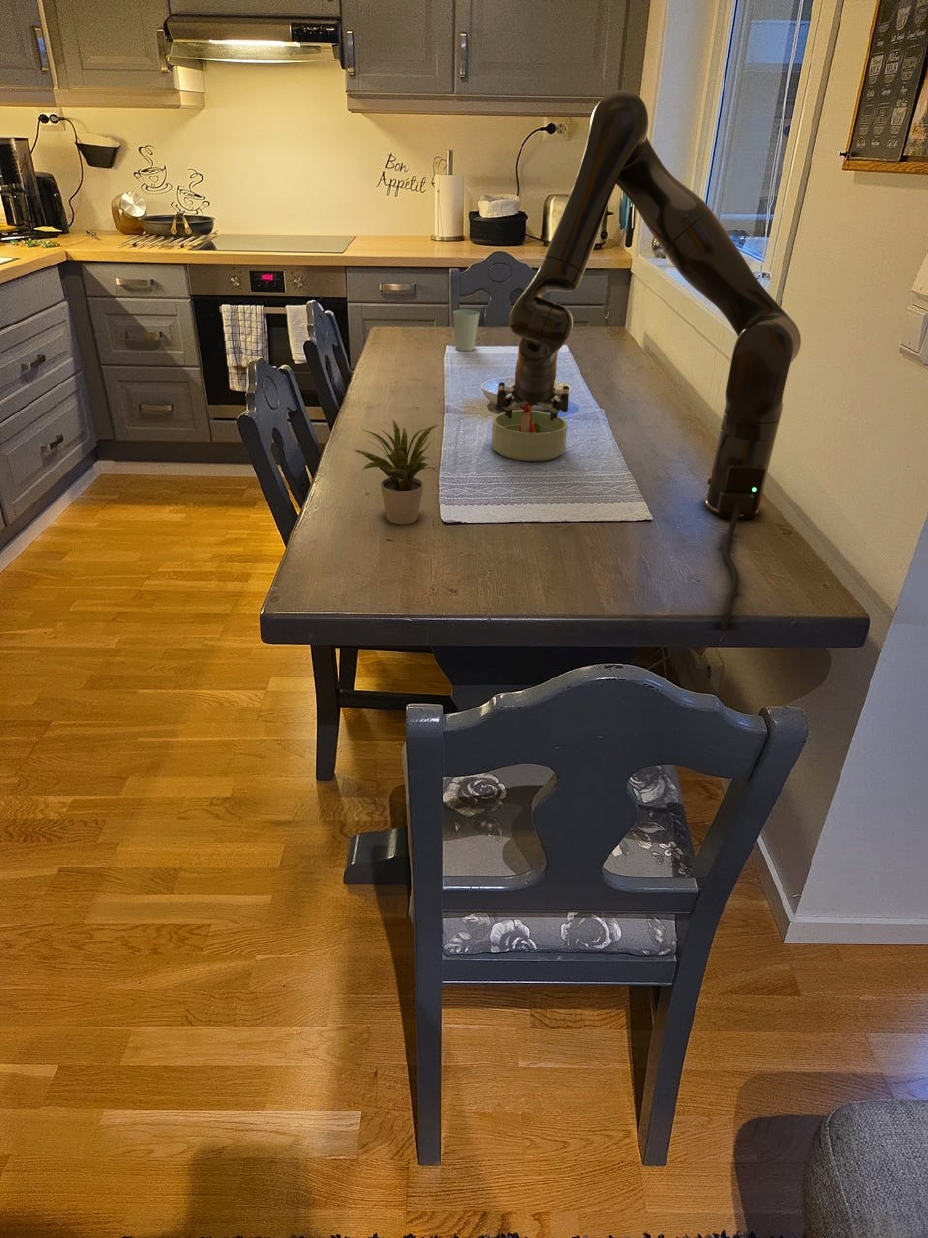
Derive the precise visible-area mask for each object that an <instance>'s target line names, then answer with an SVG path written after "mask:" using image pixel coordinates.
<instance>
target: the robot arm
mask: <svg viewBox="0 0 928 1238" xmlns="http://www.w3.org/2000/svg"><path fill="white" fill-rule="evenodd" d="M647 109H648V108H647V106H646V104H645V101H643V99H642V98H641V97H640V96H639V94H637V93H636V92H633V91H631V90H627V89H619V90H614V91H612V92H609V93H608V94H607V95H604V97H602V99H601V100H600V101H599V102H598V104H597V105H596V106H595V107H594V110H593V112H592V114H591V117H590V119H589V120H590V121H589V127H588V136H587V140H586V145H585V147H584V148H585V149H584V153H583V157H582V159H581V163H580V166H579V170H578V172H577V175H576V178H575V181H574V184H573V185H572V189H571V192H570V194H569V197H568V199H567V202H566V204H565V206H564V209H563V211H562V214H561V215H560V218H559V220H558V223H557V224H556V227H555V229H554V232H553V234H552V237H551V239H550V242H549V244H548V246H547V249H546V253H545V254H544V257H543V260H542V262H541V264H540V266H539V269H538V270H537V272H536V274H535V275H534V277H533V278H532V280H531V282H530V283H529V285H528V286H527V287H526V288H525V290H524V291H523V292H522V294H521V295H520V297H519V298H518V299H517V300H516V302H515V303H514V305H513V307H512V309H511V310H510V313H509V318H508V325H509V329H510V331H511V332H512V334H513V335H515V336H516V337H518V338H520V339H519V343H518V350H517V351H518V353H517V360H516V364H515V371H514V384H513V385H512V386H506V383H505V382H502V381H501V382H499V383H498V387H497V394H496V403H495V404H496V405H495V407H496V409H499V410H500V409H503V408H504V412H505V415H506V416H508V418H511V419H512V411H513V410H514V409H520V407H521V406H523V405H533V406H538V407H542V408H543V409H544V410H546V411H549V413H550V421H553V420H554V419H556V418H557V416H558V415H559V412H560V411H561V412H562V413H567V412H568V410H569V400H570V399H569V398H570V386H569V385H564V386H562V389H556V388H555V382H556V378H557V369H558V368H557V362H558V361H557V360H558V355H559V351H560V349H562V347H563V346H564V345H565V343H566V342H567V340H568V339H569V337H570V336H571V333H572V331H573V327H574V317H573V314H572V312H571V310H569V308H567V307H566V306H564V305H562V304H560V303H556V302H554V301H552V300H548V299H546V298H543V296H545V295H546V294H547V293H549V292H552V291H553V292H554V291H556V292H566V293H571V292H574V291H576V290H577V288H578V287H579V285H580V283H581V281H582V278H583V275H584V273H585V270H586V268H587V266H588V263H589V261H590V258H591V256H592V254H593V250H594V248H595V245H596V242H597V240H598V237H599V234H600V230H601V227H602V224H603V221H604V218H605V215H606V211H607V208H608V206H609V202H610V199H611V196H612V194H613V191H614V189H615V187H616V185H617V187H618V188H619V189H620V190H621V192H623V193H624V194H625V196H626V197H627V198H628V199H629V201H630V202H631V203H632V205H633V206H634V208H635V209H636V211H637V212H638V214H639V215H640V217H641V219H642V220H643V223H644V224H645V226H646V227H647V229H648V230H649V231H650V233H651V234H652V236H653V237H654V239H655V240H656V242H657V244H658V246H659V247H660V248H661V250H662V252H663V253H664V254H665V256H666V257H667V258H668V260H669V261H670V262H671V264H672V265H673V267H674V268H675V269H676V271H678V273H679V274H680V275H681V277H682V278H683V279H684V280H685V281H686V282H687V284H689V285H690V286H691V287H692V288H694V289H695V290H696V291H697V292H699V294H701V295H702V296H704V298H706V299H707V300H708V301H709V302H711V303H712V304H713V305H715V307H716V308H717V309H718V310H719V311H720V312H721V313H722V314H723V316H724V317H725V318H726V320H727V322H728V323H729V324H730V326H731V328H732V329H733V331H734V332H735V334H736V336H737V338H736V340H735V344H734V345H733V350H732V355H731V359H730V365H729V370H728V375H727V376H728V377H727V382H726V387H725V407H724V412H723V417H722V421H721V426H720V430H719V435H718V439H717V440H718V441H717V445H716V451H715V455H714V460H713V466H712V470H711V475H710V477H709V478H708V480H707V484H706V485H707V486H708V492H707V495H706V497H705V502H704V505H705V506H704V507H705V508H706V509H707V510H708V511H710V512H712V513H714V514H715V515H717V516H718V517H719V518H724V519H725V518H726V519H727V518H728V519H731V520H730V523H729V526H728V528H727V531H726V532H727V533H726V535H725V539H724V541H723V544H722V557H723V561H724V563H725V565H726V566H727V568H728V570H729V573H730V576H731V582H730V583H731V584H730V588H729V591H728V594H727V596H726V600H725V603H724V608H723V613H722V616H721V622H720V627H719V628H720V629H721V630H722V631H727V630H728V628H729V623H730V619H731V614H732V609H733V603H734V600H735V597H736V594H737V591H738V587H739V582H740V581H739V580H740V579H739V574H738V573H739V572H738V570H737V568H736V566H735V564H734V562H733V560H732V559H731V555H730V544H731V542H732V538H733V535H734V532H735V529H736V526H737V523H738V519H740V520H741V519H743V520H755V517H756V516H757V515H758V514H759V511H760V509H761V508H760V505H761V500H762V496H763V493H764V492H763V491H764V488H765V483H766V480H767V475H768V472H769V466H770V462H771V459H772V454H773V450H774V446H775V441H776V439H777V433H778V430H779V425H780V421H781V417H782V413H783V409H784V393H785V388H786V384H787V380H788V375H789V371H790V367H791V364H792V363H793V362H794V360H795V359H796V358H797V356H798V355H799V352H800V350H801V345H802V339H801V333H800V330H799V327H798V326H797V323H796V322H795V321H794V320H793V319H792V318H791V316H790V315H788V313H787V312H786V311H785V310H784V309H783V308H782V307H781V306H780V305H779V304H778V303H777V301H776V300H775V299H774V298H773V297H772V296H771V295H770V293H768V291H767V290H766V289H765V288H764V287H763V285H762V284H761V283H760V282H759V280H758V279H757V278H756V275H755V274H754V272H753V271H752V269H751V268H750V266H749V264H748V262H747V261H746V259H745V257H744V256H743V254H742V253H741V251H740V250H739V248H738V247H737V245H736V244H735V242H734V241H733V240H732V238H731V237H730V235H729V234H728V232H727V230H726V229H725V227H724V226H723V225H722V223H721V221H720V220H719V219H718V218H717V216H716V215H715V213H714V212H713V210H712V209H711V208H710V207H709V206H708V204H707V203H706V202H705V201H704V200H703V199H702V198H700V196H698V194H696V193H695V192H694V191H692V190H691V189H690V188H689V187H687V186H686V185H685V184H683V183H682V182H681V181H679V180H678V179H677V178H675V177H674V176H673V175H672V174H671V173H670V172H669V170H668V169H667V168H666V167H665V165H664V164H663V162H662V161H661V159H660V157H659V156H658V154H657V152H656V151H655V149H654V147H653V146H652V144H651V142H650V140H649V138H648V131H649V113H648V110H647Z"/></svg>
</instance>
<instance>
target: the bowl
mask: <svg viewBox="0 0 928 1238" xmlns="http://www.w3.org/2000/svg"><path fill="white" fill-rule="evenodd" d="M523 411H524V410H522V409H519V410H512V419H511V418H508V416H506V415H505V411H504V412H500V413H498V414H496V415H495V416H493V418H492V429H491V445H490V446H491V448H492V449H493V450H494V451H495V452H496V453H498V454H499V455H501V456H503V457H505V458H507V459H512V460H517V461H521V462H522V461H523V462H544V461H550V460H554V459H556V458H558V457H559V456H562V455H563V453H564V452H565V451H566V445H567V444H566V443H567V435H568V434H567V433H568V421H566V420H565V419H564V418H563V417H561V416H558V415H557V418H556V419H554V420H553V421H550V412H545V411H540V410H539V411H538V410H531V411H532V419H533V423H535V422H538V423H539V424H540V429H541V430H542V431H543V433H529V432H520V431H517V430H518V428H519V426H520V425H521V422H522V413H523Z"/></svg>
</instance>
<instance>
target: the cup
mask: <svg viewBox="0 0 928 1238" xmlns="http://www.w3.org/2000/svg"><path fill="white" fill-rule="evenodd" d="M452 314H453V330H454V331H453V333H454V343H455V350H457V351H461V352H471V351H474V350H475V347H476V340H477V333H478V325H479V320H480V312H479V311H477V310H472V309H456V310H454V311H452Z"/></svg>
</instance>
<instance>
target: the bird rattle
mask: <svg viewBox="0 0 928 1238" xmlns="http://www.w3.org/2000/svg"><path fill="white" fill-rule="evenodd" d="M533 407H534V405H523V406H521V407H519V409H520V410H524V411H523V413H522V422H521V425H520V426H519V428H518V430H517V431H520V432H529V433H543V431H542V430H541V429H540V424H539V423H538V422H535V423H533V419H532V411H533V410H531V409H532V408H533Z"/></svg>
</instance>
